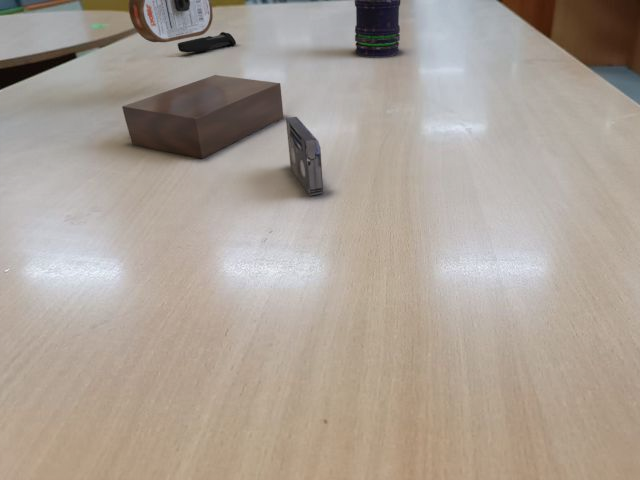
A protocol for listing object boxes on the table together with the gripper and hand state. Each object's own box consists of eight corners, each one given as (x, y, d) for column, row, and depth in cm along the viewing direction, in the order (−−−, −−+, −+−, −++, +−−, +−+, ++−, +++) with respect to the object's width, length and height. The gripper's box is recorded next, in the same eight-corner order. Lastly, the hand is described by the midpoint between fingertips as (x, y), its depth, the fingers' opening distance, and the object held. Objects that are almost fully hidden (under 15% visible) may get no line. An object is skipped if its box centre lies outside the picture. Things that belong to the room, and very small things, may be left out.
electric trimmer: (175, 56, 114) (172, 41, 112) (226, 44, 125) (224, 29, 123) (186, 58, 112) (183, 43, 111) (237, 45, 123) (235, 31, 121)
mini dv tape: (323, 194, 54) (320, 139, 51) (309, 196, 54) (305, 141, 50) (303, 166, 61) (298, 115, 57) (290, 168, 60) (285, 117, 57)
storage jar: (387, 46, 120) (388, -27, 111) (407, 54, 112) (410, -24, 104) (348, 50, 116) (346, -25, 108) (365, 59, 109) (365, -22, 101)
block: (131, 144, 67) (121, 106, 65) (220, 107, 81) (214, 74, 78) (202, 158, 63) (194, 118, 60) (283, 117, 76) (280, 83, 73)
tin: (207, 31, 89) (195, -24, 84) (220, 31, 87) (209, -25, 83) (137, 47, 78) (119, -16, 73) (150, 47, 76) (133, -18, 72)
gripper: (90, -128, 71) (123, 11, 80) (167, -134, 65) (193, 16, 75) (132, -125, 76) (159, 5, 86) (206, -129, 71) (225, 9, 81)
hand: (174, 9), depth 80 cm, fingers closed on tin, 3 cm apart
